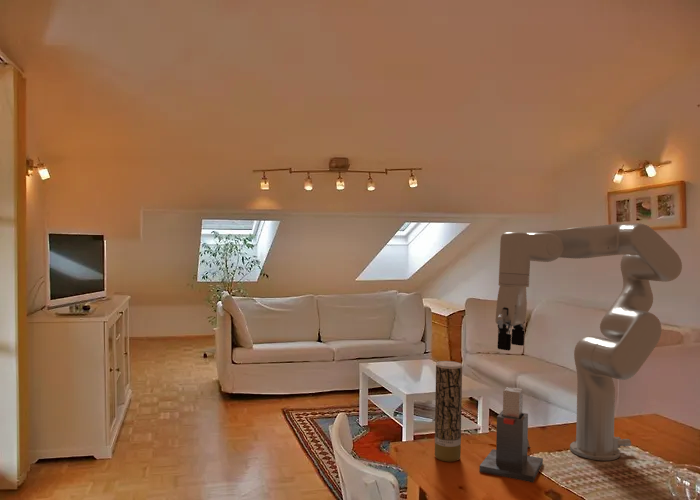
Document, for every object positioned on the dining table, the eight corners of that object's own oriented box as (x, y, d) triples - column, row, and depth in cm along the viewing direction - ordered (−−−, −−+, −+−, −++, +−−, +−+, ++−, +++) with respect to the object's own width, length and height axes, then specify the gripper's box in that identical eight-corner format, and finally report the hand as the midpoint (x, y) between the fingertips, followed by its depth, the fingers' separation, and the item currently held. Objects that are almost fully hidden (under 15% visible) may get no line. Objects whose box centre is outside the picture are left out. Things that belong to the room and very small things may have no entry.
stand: (492, 454, 157) (493, 404, 157) (542, 464, 151) (543, 412, 150) (479, 471, 145) (480, 418, 145) (533, 482, 139) (534, 426, 139)
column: (505, 455, 151) (506, 386, 150) (521, 458, 149) (523, 388, 148) (501, 461, 147) (502, 390, 147) (518, 464, 145) (519, 392, 145)
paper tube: (460, 463, 150) (462, 367, 150) (433, 461, 152) (435, 366, 151) (460, 454, 157) (462, 361, 156) (435, 452, 158) (436, 360, 158)
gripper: (511, 278, 158) (508, 341, 158) (486, 280, 144) (483, 349, 144) (539, 280, 154) (536, 345, 154) (516, 282, 140) (513, 353, 140)
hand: (510, 347), depth 149 cm, fingers open, 9 cm apart
